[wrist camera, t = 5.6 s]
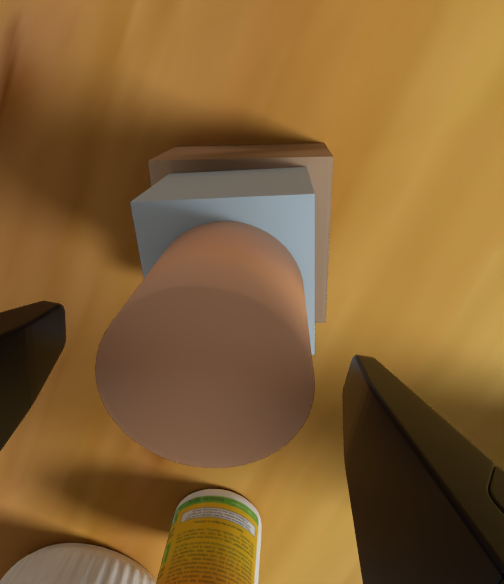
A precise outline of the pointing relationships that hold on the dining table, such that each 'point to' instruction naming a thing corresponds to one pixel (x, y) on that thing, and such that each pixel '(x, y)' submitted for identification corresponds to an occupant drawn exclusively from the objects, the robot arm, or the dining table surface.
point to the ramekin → (77, 567)
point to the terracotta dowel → (212, 350)
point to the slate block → (232, 214)
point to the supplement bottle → (212, 541)
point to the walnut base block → (266, 158)
